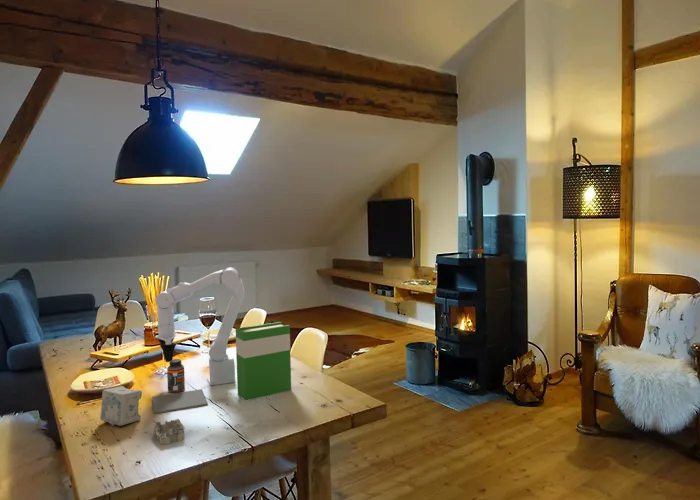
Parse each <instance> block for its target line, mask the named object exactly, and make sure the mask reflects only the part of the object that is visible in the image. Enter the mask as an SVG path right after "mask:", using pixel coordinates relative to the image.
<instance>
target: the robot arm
mask: <svg viewBox="0 0 700 500" xmlns="http://www.w3.org/2000/svg"><path fill="white" fill-rule="evenodd" d="M212 284H215V285H221V284H222V285H224V286H225V287H226V288H227V289H228V290H229V292H230V294H231V298H230V300H229V302H228V304H227V309H226V310H225V314H224V316H223V319H222V322H221V324H220V327H219V328H218V329H219V330H218V332H217V335H216V337H215V339H213V341H212V342H211V343H210V348H209V351H208V356H209V357H208V367H209V368H208V369H209V371H208V372H209V377H208V378H207V381H208V384H209V386H217V385H224V384H229V383H237V379H236V368H235V367H236V366H235V365H236V364H235V359H234V357H233V356H229V355H228V354H227V349H228V342H229V339H230V336H231V333H232V330H233V328H234V325H235V323H236V320H237V317H238V314H239V311H240V309H241V306H242V304H243V301H244V298H245V296H246V295H245V294H246V291H245V287H244V284H243V279H242V275H241V273H239V271H238V270H237V269H236V268H235V267H231V266H230V267H226V268H224V269H221V270H217V271H214V272H212V273H210V274H208V275H205V276H203V277H201V278H200V279H197V280H195V281H193V282H191V283H189V282H185V281H184V282H183V281H181V282H179V283H178V284H177V285H175V286H174V287H170V288H169V287H168V288H167V289H166V290H164V291H161V292H160V293H159V294H158V295H157V296H156V298H155V305H156V306H157V312H156V313H157V314H156V315H157V330H158V335H155V339H158V341H159V346H160V348H161V350H162V352H163V353H162V354H163V355H164V360H165V363H170V360H173V359H174V352H175V348H176V346H177V342H174V340H175V337H176V332H175V314H174V313H175V311H174V305H173V303H174V304H177V303H179V302H182V301H184V300H185V299H188V298H190V297H192V296H193V294H194V292H195V291H197V290H200V289H203V288H205V287H207V286H209V285H212Z"/></svg>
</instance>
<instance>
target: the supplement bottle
mask: <svg viewBox="0 0 700 500" xmlns="http://www.w3.org/2000/svg"><path fill="white" fill-rule="evenodd" d="M166 368H167V369H166V371H167V372H166V374H167V376H166V377H167V378H166V379H167V392H169V393H170V394H173V393H180V392H184V390H185V389H186V388H185V387H186V385H185V384H186V382H185V366H184V365H183V364H182V359H180V358H173V359H172V360H170V362H169V365H168V367H166Z"/></svg>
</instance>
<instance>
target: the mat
mask: <svg viewBox="0 0 700 500" xmlns="http://www.w3.org/2000/svg"><path fill="white" fill-rule="evenodd" d="M151 399H152V400H151V401H152V408H153V414H154V415H157V414H163V413H169V412H175V411H181V410H187V409H192V408H199V407H204V406H209V403H208V401H207V398H206V396H205V393H204V390H203V389H202V388H201V389H194V390H188V391H181V392H177V393H168V394H162V395H154V396H152V398H151Z"/></svg>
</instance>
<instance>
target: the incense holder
mask: <svg viewBox="0 0 700 500" xmlns="http://www.w3.org/2000/svg"><path fill="white" fill-rule="evenodd" d="M101 394H102V395H101V408H100V409H101V410H100V414H99V415H100V416H99V418H100V421H102V422H107V423H109V425H111V426H112V427H114V426H116V425H117V426H119V427H121V426H124V425H129V424H131V423H134V422H139V421H141V415H140V414H139V407H140V405H139V404H140V403H139V401H140V400H141V399H142V397H143V396H142V395H143V392H142V390H140V389H136V390H135V389H130V388H127V387H125V386H123V385H122V386H115V387H111V388H106V389H103V390H102V393H101Z"/></svg>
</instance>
